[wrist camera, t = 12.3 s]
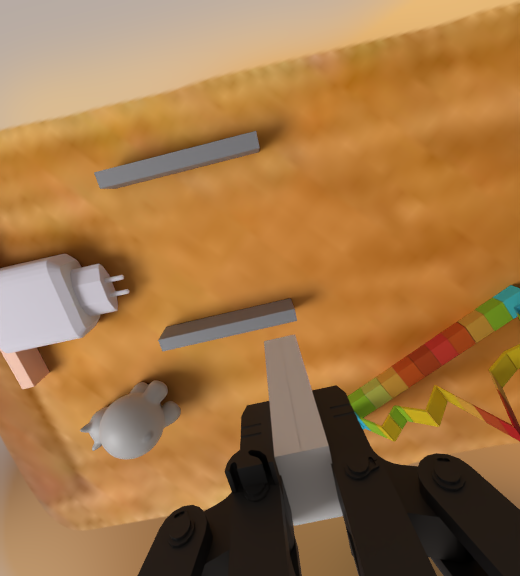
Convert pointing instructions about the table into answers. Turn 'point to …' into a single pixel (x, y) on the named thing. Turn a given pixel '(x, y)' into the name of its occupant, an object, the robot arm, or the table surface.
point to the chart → (435, 356)
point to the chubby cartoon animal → (133, 421)
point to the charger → (52, 301)
